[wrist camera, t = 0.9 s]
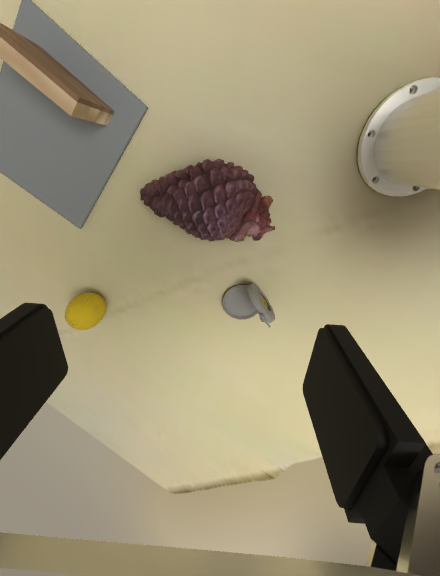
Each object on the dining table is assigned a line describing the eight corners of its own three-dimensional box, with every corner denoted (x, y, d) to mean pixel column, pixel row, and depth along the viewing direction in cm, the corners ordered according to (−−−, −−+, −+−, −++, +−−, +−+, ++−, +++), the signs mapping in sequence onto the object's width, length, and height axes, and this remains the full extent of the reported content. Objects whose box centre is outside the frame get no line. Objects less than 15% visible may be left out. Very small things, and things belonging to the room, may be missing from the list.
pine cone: (150, 219, 38) (124, 237, 29) (154, 145, 34) (124, 140, 25) (264, 241, 39) (272, 265, 30) (283, 171, 34) (299, 175, 25)
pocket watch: (217, 309, 45) (213, 346, 36) (234, 268, 41) (233, 298, 32) (260, 323, 46) (265, 363, 37) (280, 284, 42) (291, 318, 33)
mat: (26, -4, 28) (23, -6, 27) (148, 107, 32) (147, 107, 31) (-21, 154, 35) (-25, 154, 35) (81, 228, 39) (80, 228, 39)
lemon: (111, 286, 44) (86, 310, 37) (115, 312, 46) (93, 340, 39) (80, 283, 44) (50, 307, 37) (86, 310, 47) (59, 337, 39)
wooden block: (39, 45, 29) (-25, 9, 22) (114, 111, 32) (79, 97, 24) (33, 63, 30) (-30, 33, 23) (107, 125, 32) (71, 116, 25)
